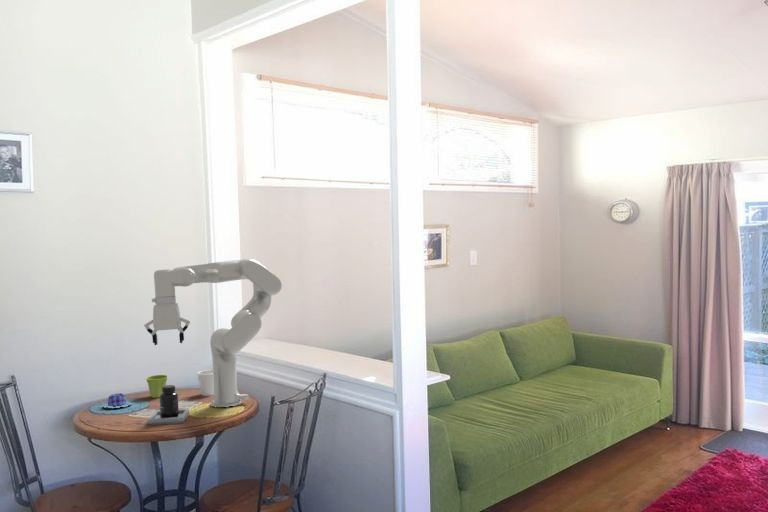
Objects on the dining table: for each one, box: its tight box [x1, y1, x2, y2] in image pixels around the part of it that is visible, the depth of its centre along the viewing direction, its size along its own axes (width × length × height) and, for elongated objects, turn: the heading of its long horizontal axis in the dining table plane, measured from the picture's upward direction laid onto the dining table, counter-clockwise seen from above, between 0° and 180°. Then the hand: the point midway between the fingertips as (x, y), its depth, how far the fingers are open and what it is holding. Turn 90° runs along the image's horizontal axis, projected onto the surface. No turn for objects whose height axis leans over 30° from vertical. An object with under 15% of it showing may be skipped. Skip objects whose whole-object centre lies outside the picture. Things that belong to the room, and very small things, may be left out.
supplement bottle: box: [159, 384, 179, 418], centre depth 258 cm, size 7×7×12 cm
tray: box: [147, 408, 190, 426], centre depth 258 cm, size 13×13×2 cm
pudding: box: [107, 392, 128, 407], centre depth 280 cm, size 12×12×5 cm
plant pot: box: [145, 374, 169, 399], centre depth 296 cm, size 9×9×9 cm
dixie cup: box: [196, 369, 214, 397], centre depth 297 cm, size 8×8×10 cm
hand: (168, 343), depth 265 cm, fingers open, 9 cm apart
